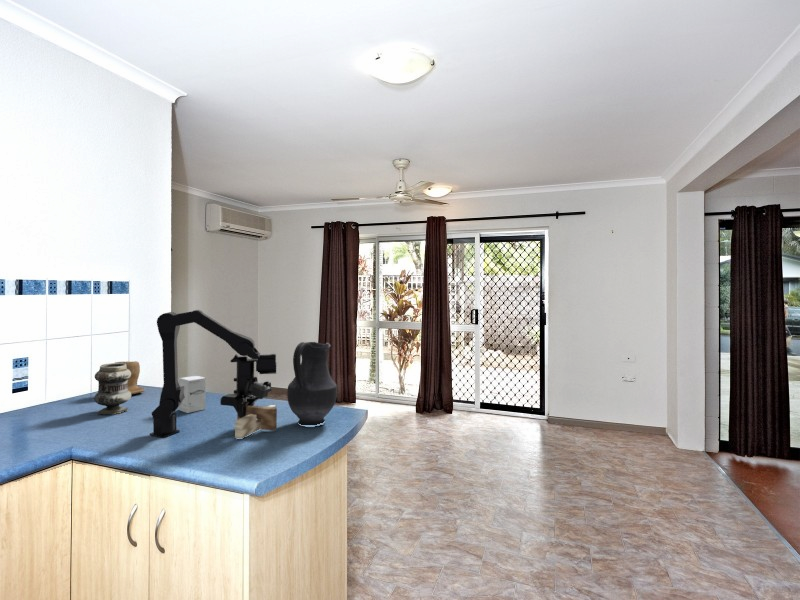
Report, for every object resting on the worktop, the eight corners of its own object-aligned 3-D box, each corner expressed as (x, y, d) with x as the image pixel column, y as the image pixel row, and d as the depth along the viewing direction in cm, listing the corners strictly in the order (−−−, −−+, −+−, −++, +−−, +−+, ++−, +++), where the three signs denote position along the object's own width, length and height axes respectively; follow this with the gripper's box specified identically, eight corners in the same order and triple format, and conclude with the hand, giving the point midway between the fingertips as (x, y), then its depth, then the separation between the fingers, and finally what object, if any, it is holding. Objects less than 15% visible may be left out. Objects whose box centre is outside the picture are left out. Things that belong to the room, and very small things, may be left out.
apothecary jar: (118, 416, 168) (118, 367, 167) (86, 415, 168) (85, 367, 167) (138, 407, 180) (137, 362, 179) (108, 407, 180) (107, 361, 179)
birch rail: (241, 440, 144) (241, 421, 144) (235, 439, 145) (235, 420, 145) (276, 422, 163) (276, 405, 163) (270, 421, 164) (270, 404, 164)
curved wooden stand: (134, 390, 209) (134, 357, 208) (149, 393, 202) (148, 360, 202) (98, 396, 196) (98, 362, 195) (113, 400, 189) (112, 364, 189)
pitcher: (343, 419, 168) (344, 338, 167) (319, 437, 148) (319, 345, 147) (301, 414, 173) (302, 336, 172) (271, 431, 153) (272, 342, 152)
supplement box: (187, 413, 172) (187, 380, 172) (178, 410, 177) (178, 377, 177) (206, 409, 178) (206, 377, 178) (196, 406, 183) (196, 375, 182)
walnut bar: (276, 428, 153) (276, 408, 153) (273, 430, 151) (273, 409, 151) (240, 424, 157) (241, 404, 157) (237, 426, 155) (237, 405, 155)
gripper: (249, 382, 144) (248, 430, 144) (281, 371, 162) (280, 415, 162) (219, 379, 147) (219, 427, 147) (253, 369, 165) (253, 412, 165)
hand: (245, 420), depth 155 cm, fingers closed on walnut bar, 2 cm apart
